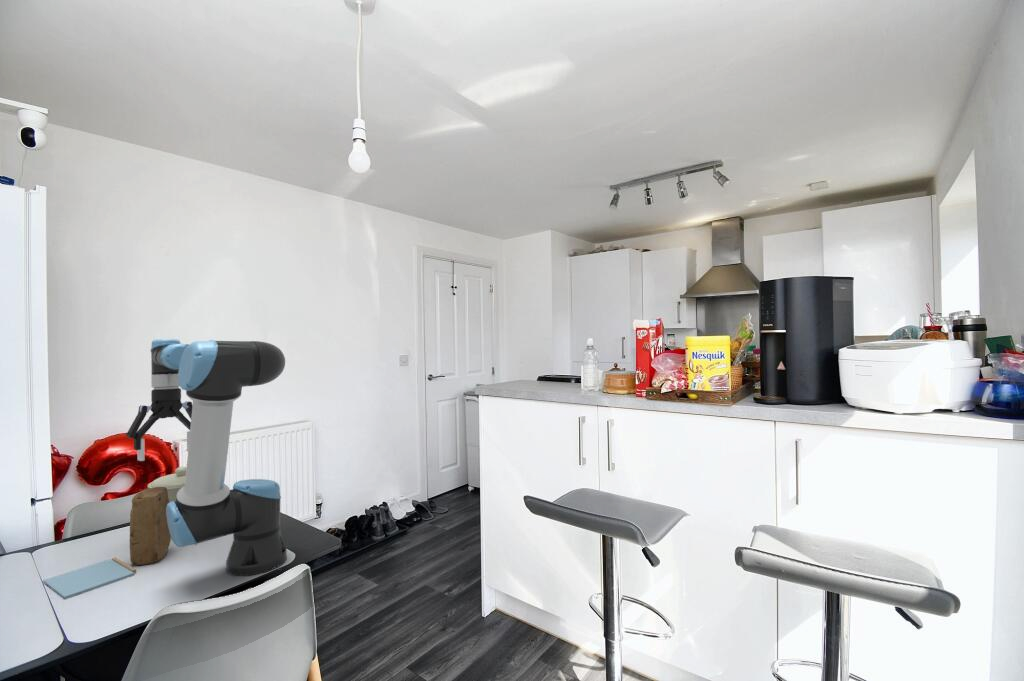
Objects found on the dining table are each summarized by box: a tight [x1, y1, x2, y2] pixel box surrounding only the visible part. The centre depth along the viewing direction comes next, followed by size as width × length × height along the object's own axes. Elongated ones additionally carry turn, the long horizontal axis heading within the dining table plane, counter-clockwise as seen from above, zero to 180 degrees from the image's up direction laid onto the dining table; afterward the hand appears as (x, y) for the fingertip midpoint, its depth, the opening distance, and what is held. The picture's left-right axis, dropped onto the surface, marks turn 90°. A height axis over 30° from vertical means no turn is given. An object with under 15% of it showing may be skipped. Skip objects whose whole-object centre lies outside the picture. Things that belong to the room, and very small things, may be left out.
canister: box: [147, 466, 187, 502], centre depth 157 cm, size 18×18×21 cm
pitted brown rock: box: [129, 487, 172, 566], centre depth 136 cm, size 11×8×20 cm
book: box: [42, 557, 137, 600], centre depth 124 cm, size 16×15×1 cm
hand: (166, 456), depth 146 cm, fingers open, 13 cm apart
